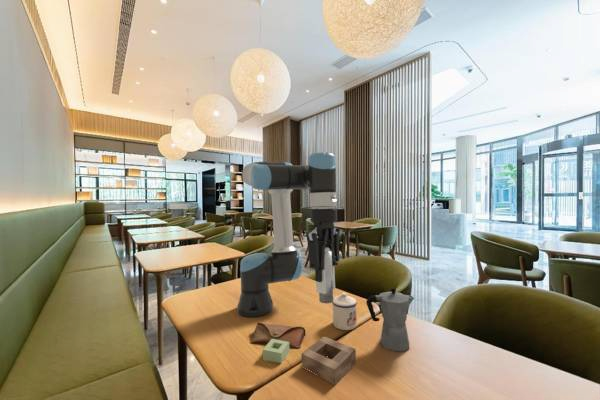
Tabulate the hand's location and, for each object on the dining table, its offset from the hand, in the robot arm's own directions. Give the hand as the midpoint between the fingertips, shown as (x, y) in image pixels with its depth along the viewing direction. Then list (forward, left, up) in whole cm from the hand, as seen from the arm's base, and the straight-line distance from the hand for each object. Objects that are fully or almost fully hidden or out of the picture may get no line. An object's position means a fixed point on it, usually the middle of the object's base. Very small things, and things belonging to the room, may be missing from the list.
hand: (325, 289), depth 72 cm
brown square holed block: (+1, 0, -21) cm, 21 cm away
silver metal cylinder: (0, 0, -3) cm, 3 cm away
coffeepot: (+11, +21, -21) cm, 32 cm away
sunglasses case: (-21, 0, -22) cm, 30 cm away
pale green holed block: (-14, -6, -21) cm, 26 cm away
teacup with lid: (-7, +24, -21) cm, 33 cm away
